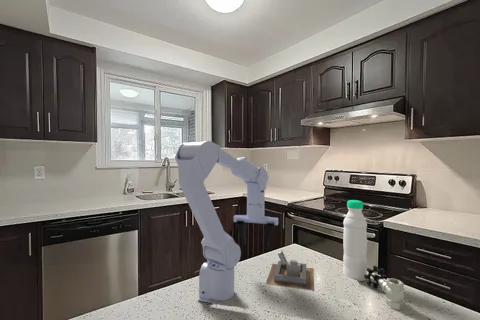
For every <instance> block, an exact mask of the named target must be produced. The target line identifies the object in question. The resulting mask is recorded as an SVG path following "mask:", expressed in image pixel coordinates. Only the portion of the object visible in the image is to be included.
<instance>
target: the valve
mask: <svg viewBox="0 0 480 320" xmlns="http://www.w3.org/2000/svg"><path fill="white" fill-rule="evenodd" d="M372 268H373V269H371V268H369V267H368V268H367V267H366V269H367V275H366V274H365V275H364V278H365V279H366V284H367V286H368V287H371V286H372V287H373V288H374V289H378V288H379V286H380V287H381V290H382V291H383V292H384V294H385V295H386V303H385V304H386V305H387V306H388V307H389V308H390V309H393V310H395V311H401V310H403V309H404V303H405V302H404V300H405V292H404V289H405V288H404V287H405V285H404V282H403V281H401V280H400V279H396V278H394V277H393V278H392V277H391V278H388V276H387V275H385V274H384V273H385V272H386V271H385V269H384V268H382V267H381V268H379V267H378V265H373V267H372ZM373 273H374V274H373ZM371 277H372V279H373V280H372V279H371ZM385 280H386V281H385Z"/></svg>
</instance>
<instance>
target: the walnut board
mask: <svg viewBox="0 0 480 320" xmlns="http://www.w3.org/2000/svg"><path fill="white" fill-rule="evenodd" d="M277 264H278V263H277ZM277 264H276V263H272V264H271V267H270V270H269V273H268V276H267V279H266V281H265V285H271V286H277V287H285V288H292V289H298V290H306V291H315V279H314V278H315V277H314V274H315V271H314V268H313V267H312V268H311V267H306V286H299V285H292V284H285V283H278V282H274V274H275V271H276V268H277ZM280 274H281V275H287V269H281V273H280ZM300 277H302V271H300Z"/></svg>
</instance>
